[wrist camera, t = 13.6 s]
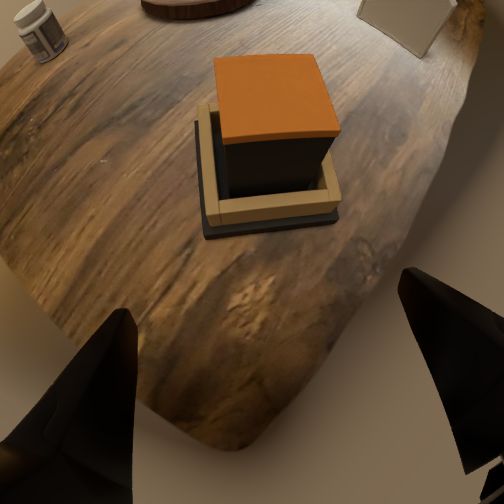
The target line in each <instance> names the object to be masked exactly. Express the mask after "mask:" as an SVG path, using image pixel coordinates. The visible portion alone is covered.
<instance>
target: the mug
mask: <svg viewBox="0 0 504 504" xmlns="http://www.w3.org/2000/svg"><path fill="white" fill-rule="evenodd" d="M250 1H251V0H141V5H142V7H143V9H144V10H145V11H146V12H147V13H149V14H152V15H155V16H157V17H160V18H166V19H175V20H183V19H199V18H205V17H212V16H216V15H220V14H223V13H227V12H231V11H233V10H235V9H237V8H240V7H242V6H244V5H246V4H247V3H249V2H250Z"/></svg>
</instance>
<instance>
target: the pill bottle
mask: <svg viewBox="0 0 504 504" xmlns="http://www.w3.org/2000/svg"><path fill="white" fill-rule="evenodd" d="M14 22H15V24H16V26H17V27H18V28H19V36H20V37H21V38H22V40H23V41H24V43H25V44H26V46H27V47H28V48H29V50H30V51H31V53H32V54H33V55H34V57H35V58H36V59H37V61H38V62H40V63H44V62H47V61H49V60H51V59H53V58H54V57H56V56H57V55H58V54H59V53H61V52H62V51H63V49H64V48H65V47H66V45H67V43H68V40H67V37H66V35H65V34H64V32H63V30H62V28H61V27H60V25H59V23H58V21H57V19H56V18H55V16H54V14H53V12H52V10H51V9H49V8H46V6H45V4H44V2H43V1H42V0H35V1H34V2H32V3H30V4H29V5H27V6H26V7H25V8H23V9H22V10H21V11H20V12H19V13H18V14H17V15H16V16H15V18H14Z"/></svg>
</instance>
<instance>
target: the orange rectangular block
mask: <svg viewBox="0 0 504 504" xmlns="http://www.w3.org/2000/svg"><path fill="white" fill-rule="evenodd" d="M214 67H215V77H216V86H217V96H218V105H219V114H220V123H221V132H222V141H223V146H224V155H225V163H226V172H227V180H228V188H229V197H230V199H236V198H244V197H253V196H262V195H271V194H280V193H290V192H301V191H307V189H308V187H309V186H310V184H311V182H312V180H313V178H314V176H315V174H316V173H317V171H318V169H319V167H320V165H321V163H322V161H323V160H324V158H325V156H326V154H327V152H328V150H329V148H330V146H331V145H332V143H333V141H334V139H335V137H337V136H338V135H339V133H340V131H341V129H340V126H339V123H338V120H337V117H336V114H335V111H334V108H333V105H332V102H331V99H330V97H329V94H328V91H327V89H326V86H325V83H324V81H323V78H322V76H321V73H320V70H319V68H318V65H317V63H316V61H315V58H314V56H313V55H312V54H267V55H248V56H234V57H224V58H215V59H214Z"/></svg>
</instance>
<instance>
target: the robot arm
mask: <svg viewBox="0 0 504 504" xmlns="http://www.w3.org/2000/svg"><path fill="white" fill-rule="evenodd" d="M398 294H399V297H400V300H401V302H402V305H403V307H404V310H405V313H406V316H407V319H408V322H409V324H410V327H411V329H412V332H413V334H414V336H415V339H416V341H417V343H418V345H419V347H420V349H421V352H422V354H423V356H424V359H425V361H426V363H427V366H428V368H429V370H430V373H431V375H432V378H433V380H434V383H435V385H436V388H437V390H438V392H439V395H440V398H441V401H442V403H443V406H444V409H445V412H446V414H447V417H448V420H449V423H450V426H451V429H452V432H453V435H454V438H455V442H456V445H457V448H458V451H459V454H460V458H461V461H462V465H463V469H464V472H465V474H466V475H467V474H469V473H471V472H473V471H475V470H476V469H478V468H480V467H482V466H483V465H485V464H487V463H488V462H490V461H492V460H493V459H495V458H497V457H498V456H500V457H501V459H502V461H500V462H499V463H498V464H497V465H495V466H494V467H493V468H491V469H490V470H489V472H488V475H487V479H486V481H485V485H484V487H483V490H482V492H481V495H480V500H481V502H480V503H479V504H504V318H503V317H501V316H499V315H498V314H496V313H495V312H492V311H491V310H490V309H488V308H486V307H484V306H483V305H481V304H480V303H478V302H476V301H474V300H473V299H471V298H469V297H468V296H466V295H464V294H462V293H461V292H459V291H457V290H455V289H454V288H452V287H450V286H448V285H447V284H445V283H443V282H441V281H439V280H438V279H436V278H434V277H432V276H430V275H428V274H427V273H425V272H423V271H421V270H419V269H417V268H415V267H409V268H405V269H403V271H402V274H401V277H400V281H399V284H398ZM137 375H138V329H137V325H136V323H135V321H134V319H133V317H132V315H131V313H130V311H129V309H127V308H119V309H115V310H114V311H113V312H112V313H111V315H110V316H109V317H108V318H107V319H106V320H105V321H104V322H103V324H102V325H101V326H100V327H99V328H98V329H97V331H96V332H95V333H94V334H93V335H92V336H91V338H90V339H89V340H88V341H87V342H86V343H85V345H84V346H83V347H82V348H81V349H80V351H79V352H78V353H77V354H76V356H75V357H74V358H73V359H72V360H71V361H70V363H69V364H68V365H67V366H66V368H65V369H64V370H63V371H62V373H61V374H60V375H59V376H58V378H57V379H56V380H55V381H54V383H53V385H51V386H50V388H49V389H48V390H47V392H46V393H45V394H44V395H43V396H42V398H41V399H40V400H39V401H38V403H37V404H36V405H35V406H34V407H33V408H32V409H31V411H30V412H29V413H28V414H27V415H26V416H25V417H24V418H23V420H22V421H21V422H20V423H19V424H18V425H17V426H16V428H15V429H14V430H13V431H12V432H11V433H10V434H9V435H8V436H7V437H6V438H5V439H4V440H3V441H1V442H0V504H133V495H132V453H133V428H134V411H135V398H136V387H137Z"/></svg>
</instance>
